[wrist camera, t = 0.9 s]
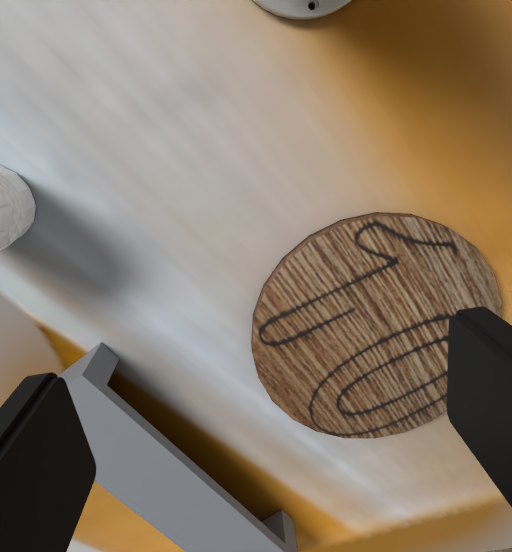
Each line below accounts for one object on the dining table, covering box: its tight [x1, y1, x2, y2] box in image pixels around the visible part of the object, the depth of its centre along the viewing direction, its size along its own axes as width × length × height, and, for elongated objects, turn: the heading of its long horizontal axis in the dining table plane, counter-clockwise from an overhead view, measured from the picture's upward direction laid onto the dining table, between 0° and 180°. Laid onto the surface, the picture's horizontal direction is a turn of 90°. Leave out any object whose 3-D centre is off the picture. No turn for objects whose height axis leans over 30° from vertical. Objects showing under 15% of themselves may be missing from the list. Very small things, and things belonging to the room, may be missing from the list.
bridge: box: [58, 342, 298, 552], centre depth 44 cm, size 8×33×6 cm, turn 38°
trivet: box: [251, 212, 502, 438], centre depth 41 cm, size 25×25×2 cm
